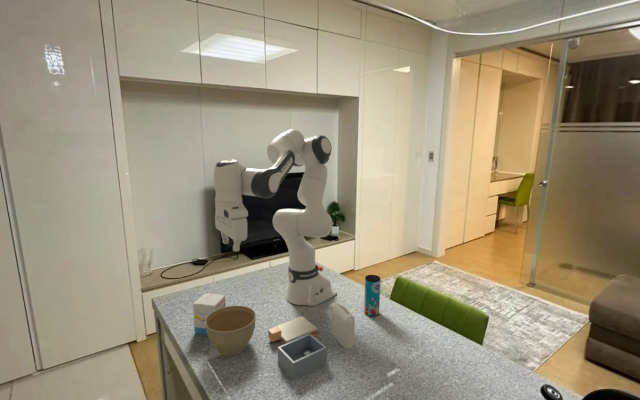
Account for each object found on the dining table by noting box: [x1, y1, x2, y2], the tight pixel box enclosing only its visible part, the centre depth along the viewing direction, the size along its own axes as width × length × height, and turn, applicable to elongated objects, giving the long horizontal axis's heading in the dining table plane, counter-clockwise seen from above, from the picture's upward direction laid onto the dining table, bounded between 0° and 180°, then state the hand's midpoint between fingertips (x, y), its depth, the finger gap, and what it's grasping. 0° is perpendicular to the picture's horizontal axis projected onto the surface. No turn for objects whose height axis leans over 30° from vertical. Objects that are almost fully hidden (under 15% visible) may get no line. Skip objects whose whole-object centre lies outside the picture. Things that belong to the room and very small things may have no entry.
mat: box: [278, 329, 322, 345], centre depth 119 cm, size 14×12×1 cm
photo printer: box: [331, 303, 356, 349], centre depth 114 cm, size 10×4×12 cm, turn 26°
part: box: [303, 348, 312, 357], centre depth 105 cm, size 3×3×2 cm
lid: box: [267, 316, 318, 343], centre depth 117 cm, size 16×10×4 cm, turn 127°
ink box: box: [192, 292, 227, 336], centre depth 121 cm, size 8×8×12 cm
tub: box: [277, 334, 328, 381], centre depth 102 cm, size 12×9×6 cm
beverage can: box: [363, 274, 381, 317], centre depth 131 cm, size 6×6×15 cm
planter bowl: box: [205, 305, 257, 356], centre depth 110 cm, size 16×16×11 cm
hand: (230, 247), depth 116 cm, fingers open, 8 cm apart
